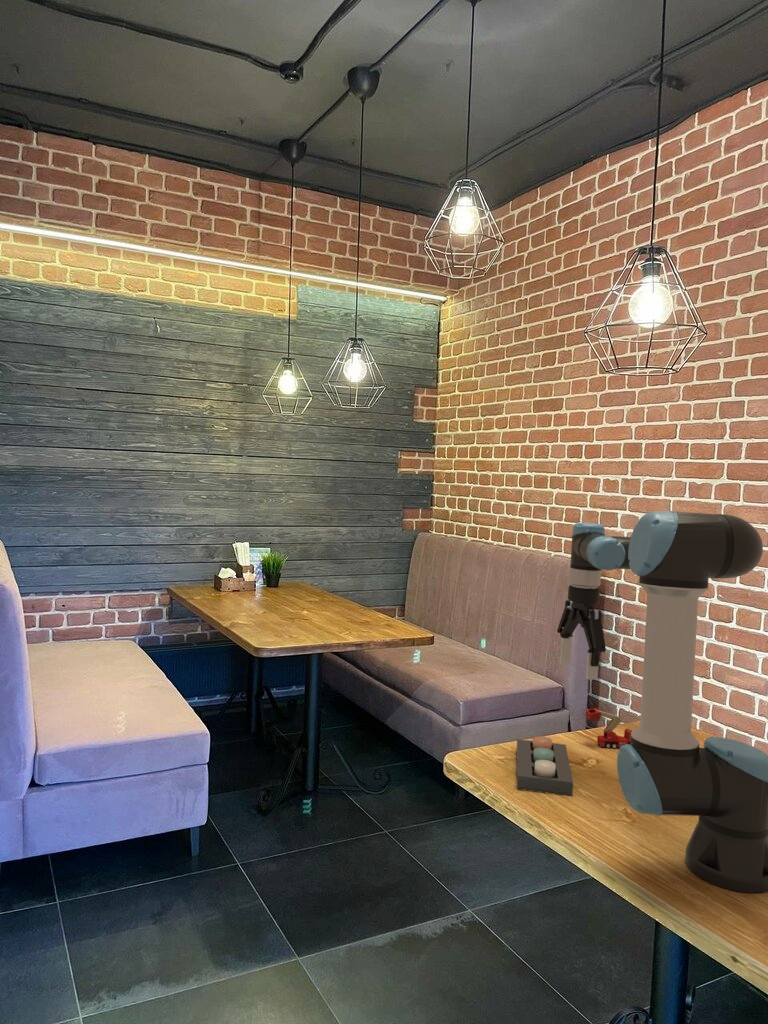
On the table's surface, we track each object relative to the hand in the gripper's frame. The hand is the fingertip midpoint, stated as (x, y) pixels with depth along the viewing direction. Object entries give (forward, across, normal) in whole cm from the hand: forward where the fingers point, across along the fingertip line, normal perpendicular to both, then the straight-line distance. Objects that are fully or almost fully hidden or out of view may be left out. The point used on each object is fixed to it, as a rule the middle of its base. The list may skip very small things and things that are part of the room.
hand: (577, 670), depth 187 cm
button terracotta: (+20, +1, +8) cm, 22 cm away
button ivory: (+20, -14, +14) cm, 28 cm away
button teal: (+20, -7, +11) cm, 24 cm away
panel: (+22, -7, +11) cm, 26 cm away
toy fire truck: (+23, +8, -15) cm, 29 cm away
